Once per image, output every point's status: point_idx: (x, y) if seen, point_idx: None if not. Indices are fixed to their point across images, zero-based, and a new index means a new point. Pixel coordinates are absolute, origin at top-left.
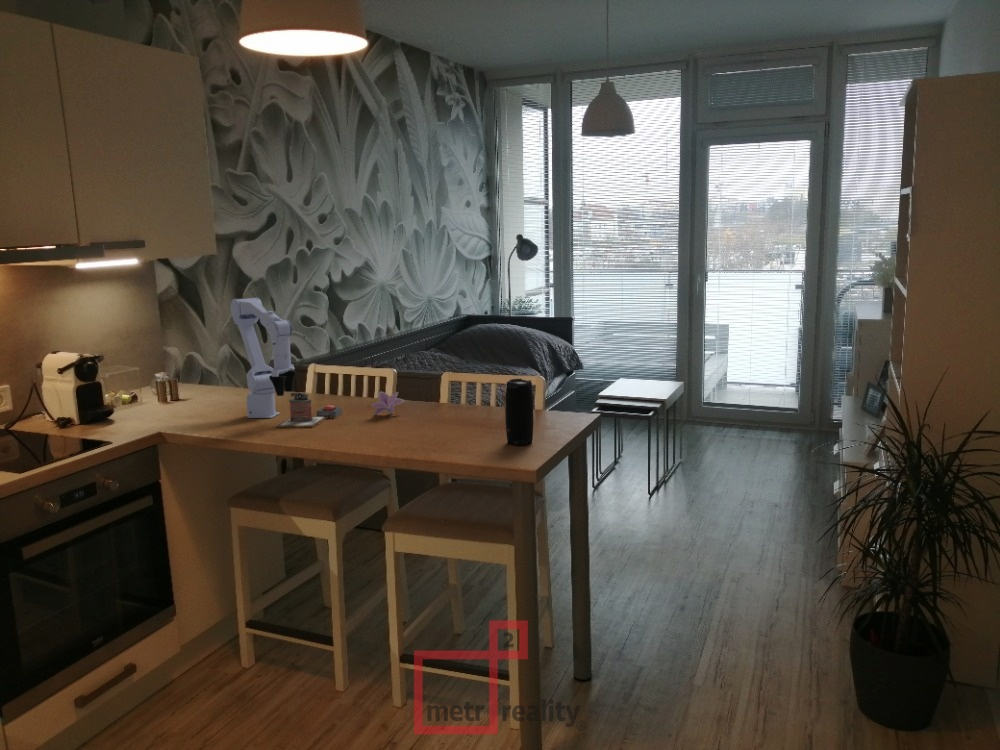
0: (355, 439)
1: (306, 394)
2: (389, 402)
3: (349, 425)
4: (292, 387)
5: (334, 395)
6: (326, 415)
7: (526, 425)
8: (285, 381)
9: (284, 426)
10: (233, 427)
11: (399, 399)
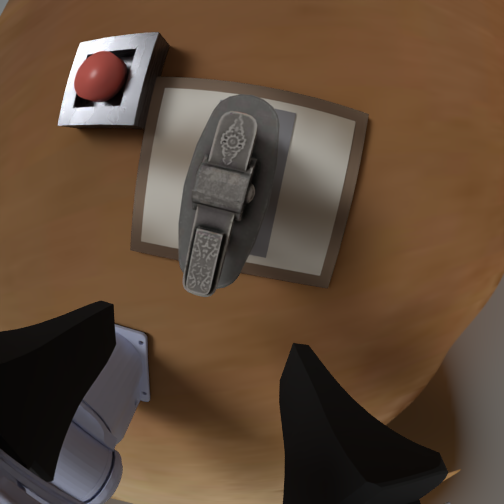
0: (487, 24)
1: (254, 121)
2: None
3: None
4: (82, 309)
5: None
6: (154, 80)
7: None
8: (72, 397)
9: (338, 250)
10: (280, 414)
11: None
